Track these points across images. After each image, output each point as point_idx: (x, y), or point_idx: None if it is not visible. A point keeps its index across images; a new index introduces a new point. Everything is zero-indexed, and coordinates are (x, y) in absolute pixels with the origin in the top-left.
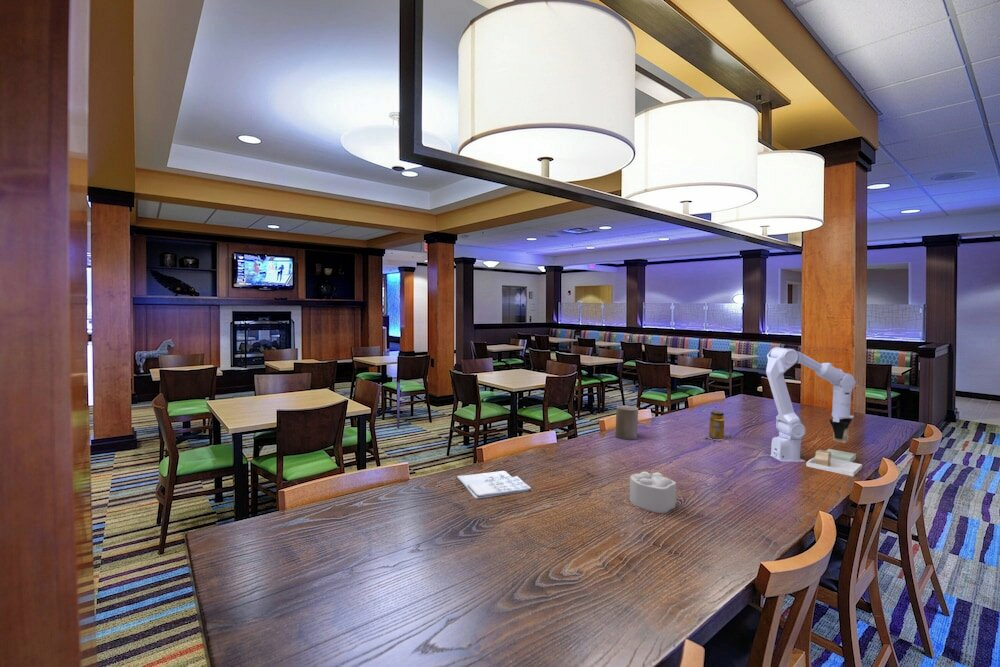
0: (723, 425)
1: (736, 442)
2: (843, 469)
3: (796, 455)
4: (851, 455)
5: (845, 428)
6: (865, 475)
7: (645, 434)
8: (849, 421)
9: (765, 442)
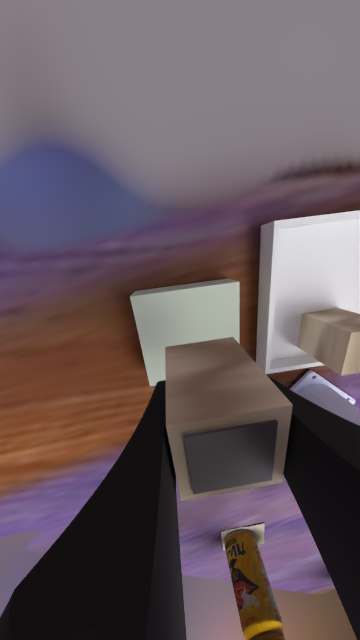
0: (255, 590)
1: (238, 511)
2: (330, 265)
3: (343, 398)
4: (178, 298)
5: (210, 438)
6: (335, 187)
7: (313, 571)
8: (155, 593)
9: (177, 493)
